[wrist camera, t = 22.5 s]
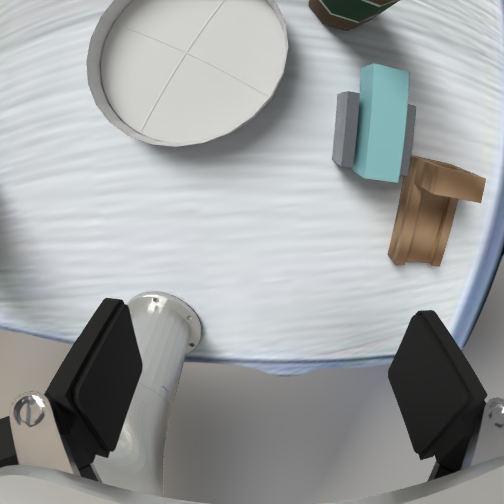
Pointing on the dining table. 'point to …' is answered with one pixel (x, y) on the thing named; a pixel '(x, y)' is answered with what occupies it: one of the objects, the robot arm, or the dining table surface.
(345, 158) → the cradle block
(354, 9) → the beer bottle
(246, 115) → the dish
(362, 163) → the teal block
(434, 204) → the brown wooden bracket
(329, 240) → the dining table surface
